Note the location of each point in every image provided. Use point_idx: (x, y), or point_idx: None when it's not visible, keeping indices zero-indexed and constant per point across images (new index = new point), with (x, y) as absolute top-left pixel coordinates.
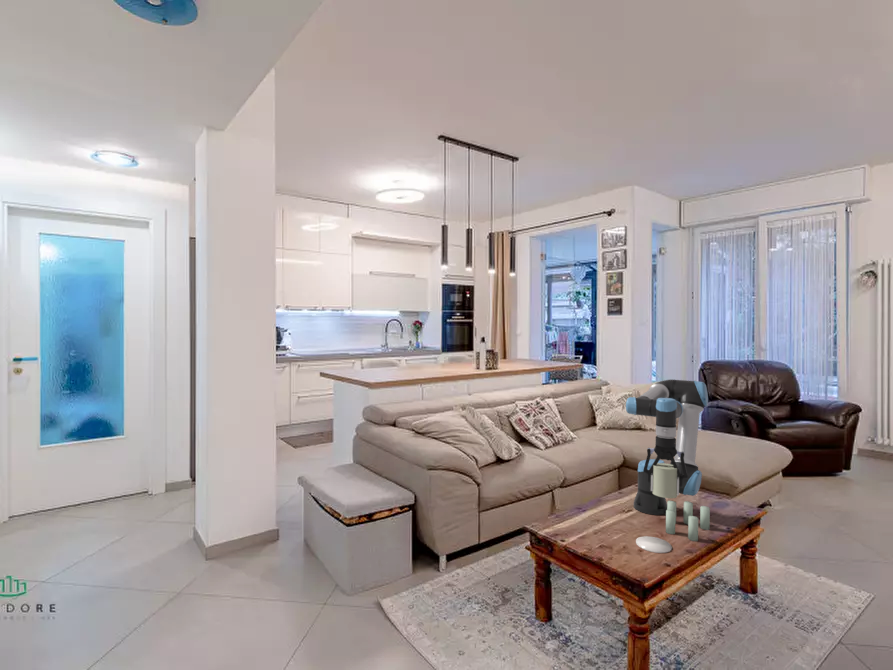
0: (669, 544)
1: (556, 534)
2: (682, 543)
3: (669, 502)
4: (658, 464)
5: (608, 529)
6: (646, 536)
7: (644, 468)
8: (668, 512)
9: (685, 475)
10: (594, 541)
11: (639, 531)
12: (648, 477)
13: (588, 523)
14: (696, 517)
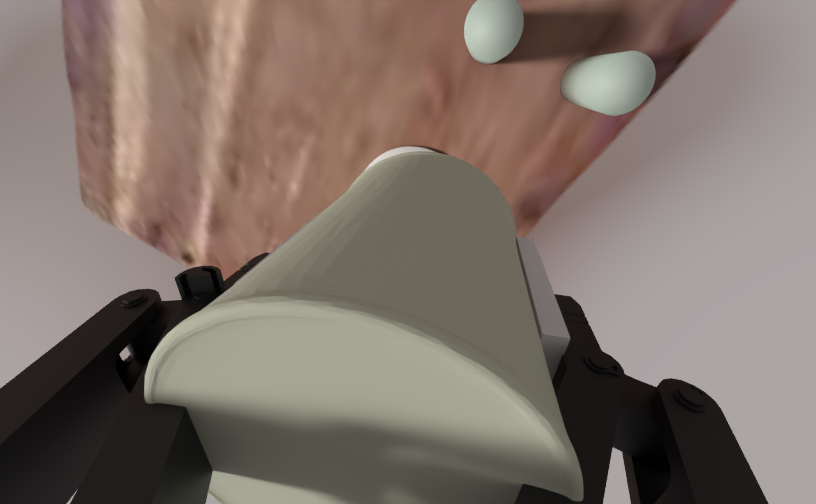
0: None
1: (157, 228)
2: (520, 149)
3: None
4: (218, 402)
5: (257, 127)
6: (387, 152)
7: (128, 380)
8: (476, 57)
9: (649, 470)
10: (253, 238)
11: (360, 94)
12: None
13: (181, 98)
14: (645, 75)
